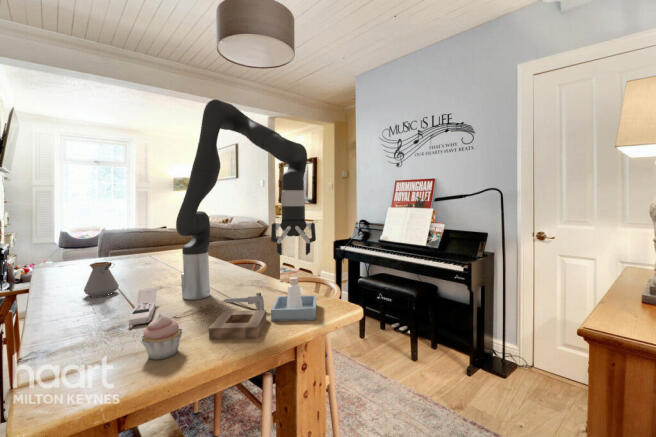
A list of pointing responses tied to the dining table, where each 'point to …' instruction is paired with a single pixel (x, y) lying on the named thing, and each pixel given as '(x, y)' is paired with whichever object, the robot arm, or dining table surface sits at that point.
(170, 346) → the cupcake
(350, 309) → the dining table surface
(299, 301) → the pepper shaker
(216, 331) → the socket block
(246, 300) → the caliper
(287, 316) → the tray
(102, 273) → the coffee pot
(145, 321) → the mobile phone
